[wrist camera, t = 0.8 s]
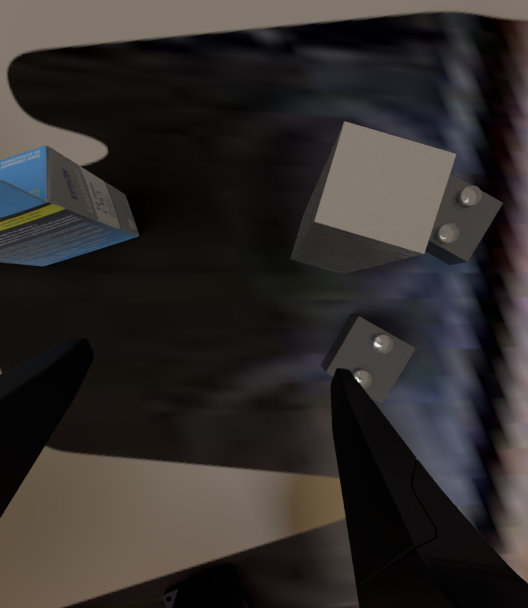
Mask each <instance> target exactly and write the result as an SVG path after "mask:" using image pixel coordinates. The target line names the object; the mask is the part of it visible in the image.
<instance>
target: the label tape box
mask: <svg viewBox="0 0 528 608" xmlns="http://www.w3.org/2000/svg"><path fill="white" fill-rule="evenodd" d="M138 236H139V233H138V230H137V227H136V223H135V221H134V218H133V216H132V213H131V210H130V207H129V204H128V201H127V198H126V196H125V194H123V193H122V192H120V191H119V190H117V189H116V188H114V187H113V186H111V185H109V184H108V183H106V182H104V181H103V180H101V179H99V178H98V177H96V176H95V175H93V174H92V173H90V172H88V171H87V170H85V169H84V168H82V167H80V166H79V165H77V164H76V163H74V162H72V161H71V160H69V159H67V158H66V157H64V156H63V155H61V154H60V153H58V152H56V151H55V150H54V149H52V148H50V147H49V146H42V147H40V148H37V149H34V150H31V151H28V152H24V153H21V154H19V155H16V156H13V157H9V158H6V159H4V160H1V161H0V262H4V263H15V264H25V265H36V266H46V265H49V264H53V263H56V262H60V261H63V260H66V259H69V258H72V257H76V256H79V255H82V254H85V253H88V252H91V251H95V250H98V249H101V248H104V247H107V246H110V245H113V244H117V243H120V242H123V241H126V240H129V239H132V238H135V237H138Z"/></svg>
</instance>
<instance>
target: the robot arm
mask: <svg viewBox="0 0 528 608" xmlns="http://www.w3.org/2000/svg"><path fill="white" fill-rule="evenodd" d="M93 357H94V355H93V351H92V349H91V346H90V344H89V341H88V340H87V339H86V338H79V337H74V338H71V339H69V340H67V341H65V342H63V343H61V344H59V345H57V346H55V347H53V348H52V349H50V350H48V351H46V352H44V353H42V354H40V355H38V356H36V357H34V358H32V359H30V360H28V361H26V362H24V363H22V364H20V365H18V366H16V367H14V368H12V369H10V370H8V371H6V372H4V373H2V374H0V518H1V516H2V514H3V513H4V511H5V509H6V508H7V506H8V505H9V503H10V501H11V500H12V498H13V497H14V495H15V493H16V492H17V490H18V489H19V487H20V485H21V484H22V482H23V480H24V479H25V477H26V476H27V474H28V472H29V471H30V469H31V468H32V466H33V464H34V463H35V461H36V460H37V458H38V456H39V455H40V453H41V451H42V449H43V448H44V447H45V445H46V443H47V442H48V440H49V439H50V437H51V435H52V434H53V432H54V431H55V429H56V427H57V426H58V424H59V422H60V421H61V419H62V418H63V416H64V414H65V413H66V411H67V410H68V408H69V406H70V405H71V403H72V401H73V400H74V398H75V396H76V394H77V392H78V390H79V388H80V386H81V384H82V382H83V380H84V378H85V376H86V373H87V371H88V369H89V367H90V365H91V363H92V361H93ZM331 410H332V430H333V438H334V445H335V451H336V458H337V464H338V471H339V477H340V484H341V490H342V496H343V503H344V510H345V516H346V523H347V529H348V536H349V542H350V549H351V555H352V562H353V568H354V574H355V581H356V587H357V595H358V601H359V608H528V583H527V582H526V581H524V580H523V579H522V578H521V577H520V576H519V575H518V574H517V573H516V572H515V571H514V570H513V569H512V568H510V567H509V566H508V564H507V563H506V562H505V561H504V560H503V559H502V558H501V557H500V556H499V555H498V554H497V552H496V551H495V550H494V549H493V548H492V547H491V546H490V545H489V543H488V542H487V541H486V540H485V539H484V538H483V537H482V535H481V534H480V533H479V532H478V531H477V530H476V529H475V528H474V526H473V525H472V524H471V523H470V522H469V521H468V520H467V519H466V517H465V516H464V515H463V514H462V513H461V512H460V511H459V510H458V508H457V507H456V506H455V505H454V504H453V503H452V501H451V500H450V499H449V498H448V497H447V496H446V494H445V493H444V492H443V491H442V490H441V488H440V487H439V486H438V485H437V483H436V482H435V481H434V480H433V478H432V477H431V476H430V475H429V473H428V472H427V471H426V469H425V468H424V467H423V466H422V464H421V463H420V462H419V460H416V457H415V455H414V454H413V453H412V451H411V450H410V449H409V447H408V446H407V445H406V443H405V442H404V441H403V440H402V438H401V437H400V436H399V434H398V433H397V432H396V430H395V429H394V428H393V426H392V425H391V424H390V422H389V421H388V420H387V419H386V417H385V416H384V415H383V413H382V412H381V411H380V409H379V408H378V407H377V405H376V404H375V403H374V402H373V400H372V399H371V398H370V396H369V395H368V394H367V392H366V391H365V390H364V388H363V387H362V386H361V384H360V383H359V382H358V381H357V379H356V378H355V377H354V375H353V374H352V373H351V371H350V370H349V369H344V368H337V369H336V371H335V374H334V376H333V379H332V382H331ZM227 572H229V573H227ZM169 596H170V597H169ZM163 601H164V603H165V605H166V607H167V608H252V607H251V605H250V603H249V601H248V599H247V597H246V594H245V592H244V590H243V588H242V586H241V584H240V582H239V580H238V578H237V575H236V573H235V571H234V569H233V567H232V566H231V565H229V564H226V565H223V566H221V567H219V568H216V569H214V570H211V571H209V572H207V573H204V574H202V575H200V576H197V577H195V578H193V579H190V580H188V581H185V582H183V583H181V584H178V585H176V586H174V587H171V588H169V589H167V590H166V591H165V593H164V596H163Z"/></svg>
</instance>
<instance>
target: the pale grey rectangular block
mask: <svg viewBox="0 0 528 608" xmlns="http://www.w3.org/2000/svg"><path fill="white" fill-rule="evenodd" d="M455 157H456V154H455V153H451V152H448V151H444V150H441V149H438V148H434V147H431V146H427V145H424V144H420V143H417V142H414V141H410V140H407V139H403V138H400V137H397V136H393V135H390V134H386V133H383V132H379V131H376V130H373V129H369V128H366V127H362V126H359V125H356V124H352V123H349V122H345V121H344V124H343V126H342V128H341V130H340V133H339V135H338V137H337V139H336V142H335V144H334V146H333V148H332V151H331V153H330V155H329V158H328V160H327V162H326V164H325V167H324V169H323V171H322V173H321V176H320V178H319V180H318V183H317V185H316V187H315V189H314V192H313V194H312V196H311V198H310V201H309V203H308V205H307V207H306V210H305V212H304V215H303V219H302V222H301V225H300V229H299V232H298V235H297V239H296V242H295V245H294V249H293V252H292V255H291V259H292V260H295V261H298V262H302V263H305V264H309V265H312V266H315V267H319V268H322V269H325V270H329V271H332V272H336V273H339V274H346V273H350V272H354V271H358V270H362V269H366V268H370V267H374V266H378V265H382V264H386V263H390V262H394V261H398V260H402V259H406V258H410V257H414V256H418V255H422V254H424V253H425V250H426V247H427V244H428V241H429V238H430V235H431V231H432V228H433V225H434V222H435V219H436V216H437V213H438V210H439V206H440V203H441V200H442V197H443V194H444V191H445V188H446V185H447V182H448V178H449V175H450V172H451V169H452V166H453V163H454V160H455Z"/></svg>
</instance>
